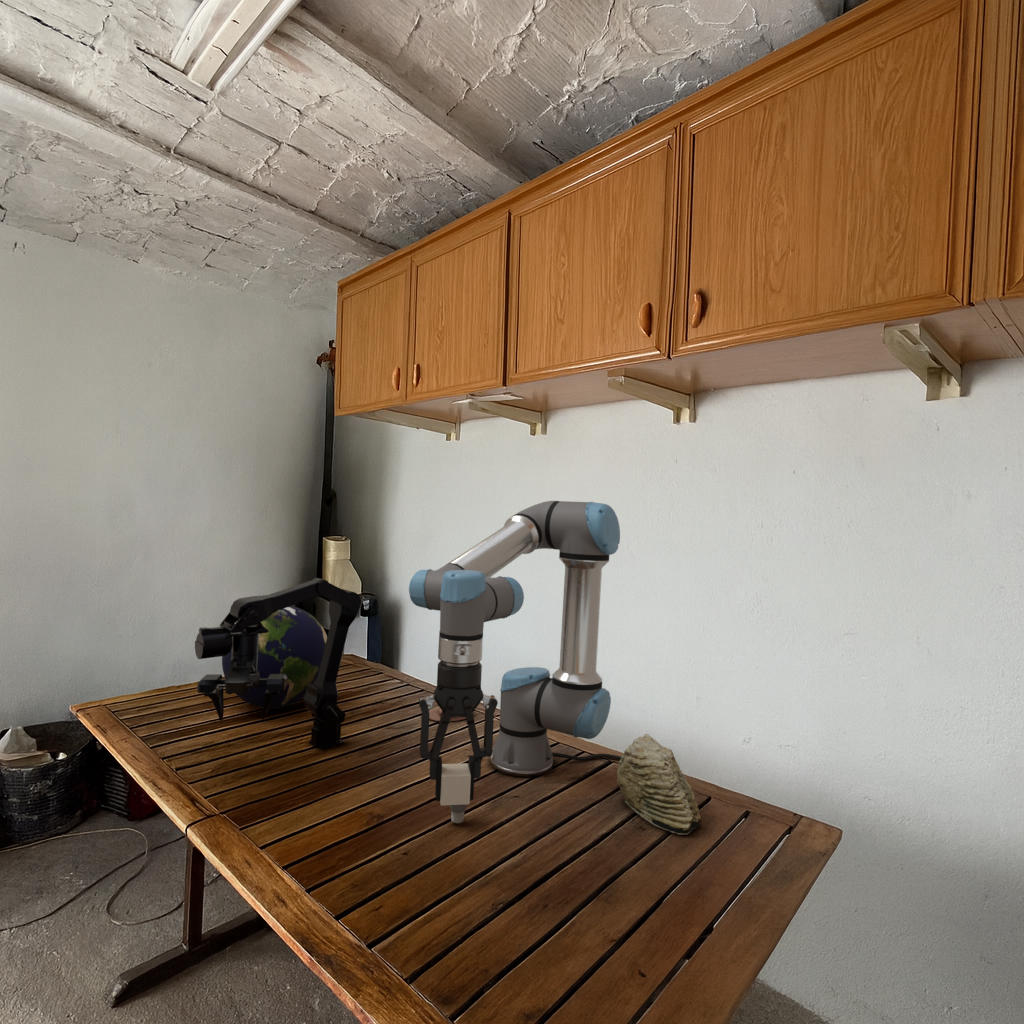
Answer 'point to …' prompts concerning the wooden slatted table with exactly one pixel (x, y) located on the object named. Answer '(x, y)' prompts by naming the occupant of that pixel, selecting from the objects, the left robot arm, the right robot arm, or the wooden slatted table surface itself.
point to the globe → (286, 655)
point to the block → (455, 784)
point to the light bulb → (457, 813)
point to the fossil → (657, 786)
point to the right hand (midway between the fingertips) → (454, 796)
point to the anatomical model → (436, 715)
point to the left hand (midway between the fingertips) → (242, 719)
